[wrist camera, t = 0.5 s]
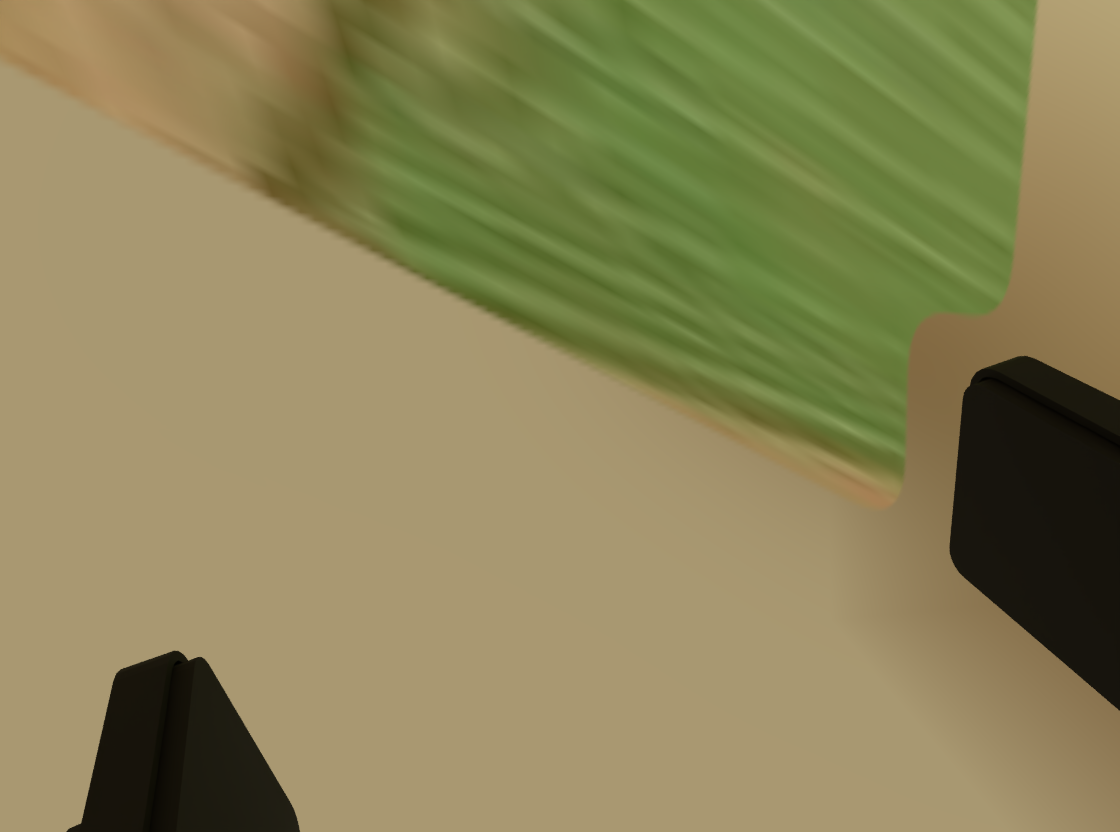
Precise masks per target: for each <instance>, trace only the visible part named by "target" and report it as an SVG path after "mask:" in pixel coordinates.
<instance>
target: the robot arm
mask: <svg viewBox="0 0 1120 832" xmlns="http://www.w3.org/2000/svg"><path fill="white" fill-rule="evenodd" d="M950 555H951V559H952V561H953V563H954V565H955V567H956V568H957V570H958V571H959V573H960V574H961V575H962V576H964V578H965V579H967V580H968V581H969V582H970V583H971V584H972V585H974V586H975V587H976V588H977V589H978V590H980V591H981V592H982V593H983V594H984V595H985V596H986V597H988V598H989V599H990V600H991V601H992V602H993V603H995V604H996V605H997V606H998V607H999V608H1001V609H1002V610H1003V611H1004V612H1005V613H1006V614H1007V615H1009V616H1010V617H1011V618H1012V619H1013V620H1014V621H1016V622H1017V623H1018V624H1019V625H1020V626H1022V627H1023V628H1024V629H1025V630H1026V631H1027V632H1028V633H1030V634H1031V635H1032V636H1033V637H1034V638H1035V639H1037V640H1038V641H1039V642H1040V643H1041V644H1043V645H1044V646H1045V647H1046V648H1047V649H1048V650H1049V651H1051V652H1052V653H1053V654H1054V655H1055V656H1056V657H1058V658H1059V659H1060V660H1061V661H1062V662H1064V663H1065V664H1066V665H1067V666H1068V667H1069V668H1071V669H1072V670H1073V671H1074V672H1075V673H1076V674H1077V675H1079V676H1080V677H1081V678H1082V679H1083V680H1084V681H1086V682H1087V683H1088V684H1089V685H1090V686H1091V687H1093V688H1094V689H1095V690H1096V691H1097V692H1098V693H1100V694H1101V695H1102V696H1103V697H1104V698H1106V699H1107V700H1108V701H1109V702H1110V703H1111V704H1113V705H1114V706H1115V707H1116V708H1117V709H1118V710H1120V400H1118V399H1116V398H1114V397H1112V396H1110V395H1108V394H1106V393H1104V392H1101V391H1099V390H1097V389H1095V388H1093V387H1091V386H1089V385H1087V384H1085V383H1083V382H1081V381H1079V380H1077V379H1075V378H1073V377H1071V376H1069V375H1067V374H1065V373H1063V372H1061V371H1059V370H1057V369H1055V368H1052V367H1051V366H1049V365H1047V364H1044V363H1043V362H1040V361H1038V360H1036V359H1034V358H1031V357H1028V356H1019V357H1015V358H1012V359H1010V360H1007V361H1004V362H1001V363H998V364H996V365H992V366H989V367H987V368H984V369H981V370H980V371H978V372H976V374H975V375H974V376H973V378H972V380H971V384H970V386H969V387H968V388H967V389H966V390H965V392H964V396H963V403H962V415H961V425H960V436H959V449H958V460H957V470H956V482H955V492H954V503H953V515H952V526H951V536H950ZM67 832H300V830H299V825H298V821H297V817H296V814H295V811H294V809H293V807H292V805H291V803H290V801H289V799H288V798H287V796H286V794H285V793H284V791H283V789H282V788H281V786H280V784H279V783H278V781H277V779H276V777H275V776H274V774H273V772H272V771H271V769H270V768H269V765H268V764H267V762H266V761H265V759H264V757H263V755H262V754H261V752H260V750H259V749H258V747H257V745H256V743H255V742H254V740H253V738H252V737H251V735H250V733H249V732H248V730H247V728H246V727H245V725H244V723H243V721H242V720H241V718H240V716H239V715H238V713H237V711H236V710H235V708H234V706H233V705H232V703H231V701H230V699H229V698H228V696H227V694H226V693H225V691H224V689H223V688H222V686H221V684H220V682H219V681H218V679H217V678H216V676H215V674H214V672H213V671H212V669H211V667H210V666H209V664H208V663H207V661H206V660H205V659H203V658H202V657H197V658H194V659H192V660H189V661H188V660H187V658H186V657H185V656H184V655H183V654H182V653H181V652H179V651H172V652H169V653H167V654H164V655H161V656H158V657H155V658H153V659H149V660H146V661H144V662H141V663H138V664H135V665H132V666H129V667H126V668H123V669H121V670H120V671H119V672H118V673H117V674H116V676H115V678H114V681H113V685H112V690H111V694H110V699H109V703H108V707H107V712H106V716H105V720H104V725H103V730H102V734H101V739H100V743H99V747H98V752H97V757H96V761H95V765H94V769H93V774H92V778H91V783H90V788H89V792H88V796H87V800H86V805H85V809H84V814H83V818H82V823H81V824H79V825H76V826H74V827H72V828H70V829H68V831H67Z"/></svg>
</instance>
